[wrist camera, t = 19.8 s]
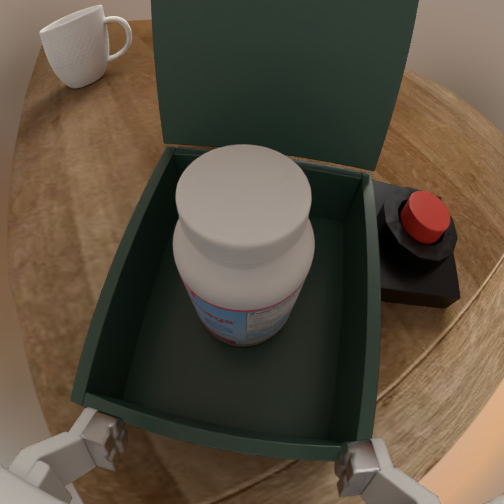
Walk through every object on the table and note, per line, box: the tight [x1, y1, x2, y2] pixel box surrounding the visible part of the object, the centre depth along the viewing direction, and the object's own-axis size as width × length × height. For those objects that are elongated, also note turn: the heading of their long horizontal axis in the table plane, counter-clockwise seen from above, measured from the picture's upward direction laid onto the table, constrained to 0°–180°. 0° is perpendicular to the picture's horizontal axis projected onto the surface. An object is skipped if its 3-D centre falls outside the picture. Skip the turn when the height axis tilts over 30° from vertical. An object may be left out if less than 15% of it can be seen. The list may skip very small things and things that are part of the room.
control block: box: [372, 180, 460, 308], centre depth 21 cm, size 10×8×4 cm
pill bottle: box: [173, 144, 315, 347], centre depth 15 cm, size 6×6×11 cm
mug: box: [39, 5, 132, 88], centre depth 34 cm, size 15×11×13 cm
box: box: [70, 146, 381, 461], centre depth 18 cm, size 18×15×6 cm
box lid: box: [151, 0, 419, 171], centre depth 13 cm, size 18×15×5 cm
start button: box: [400, 191, 450, 244], centre depth 19 cm, size 4×4×2 cm
